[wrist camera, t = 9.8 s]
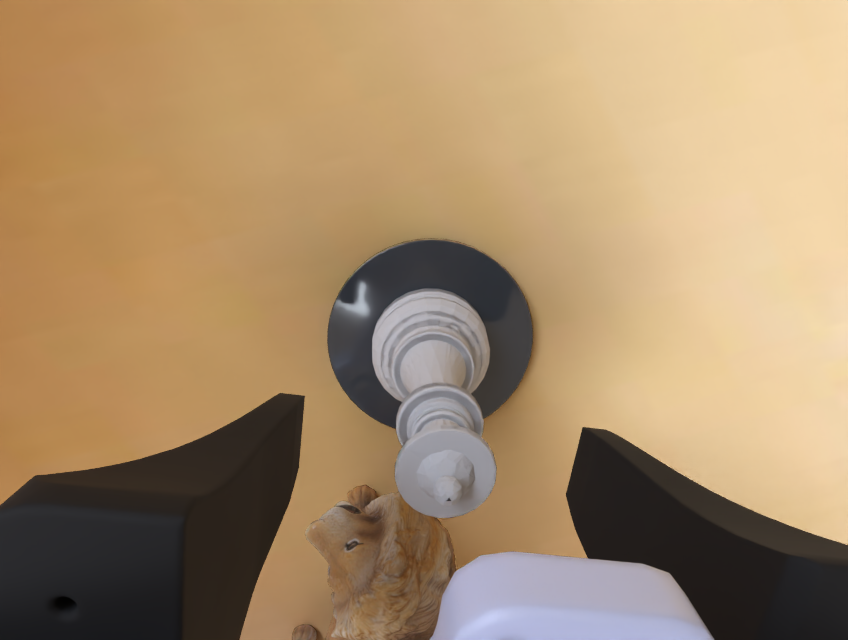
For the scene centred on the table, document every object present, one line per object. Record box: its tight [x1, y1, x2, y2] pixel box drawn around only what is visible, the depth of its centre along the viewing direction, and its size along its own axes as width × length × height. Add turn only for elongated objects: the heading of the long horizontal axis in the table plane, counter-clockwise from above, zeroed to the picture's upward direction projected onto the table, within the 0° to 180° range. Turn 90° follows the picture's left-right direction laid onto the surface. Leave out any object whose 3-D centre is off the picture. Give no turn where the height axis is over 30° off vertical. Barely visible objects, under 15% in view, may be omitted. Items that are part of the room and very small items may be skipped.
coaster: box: [327, 238, 533, 429], centre depth 21 cm, size 8×8×1 cm
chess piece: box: [372, 288, 497, 518], centre depth 16 cm, size 4×4×10 cm
